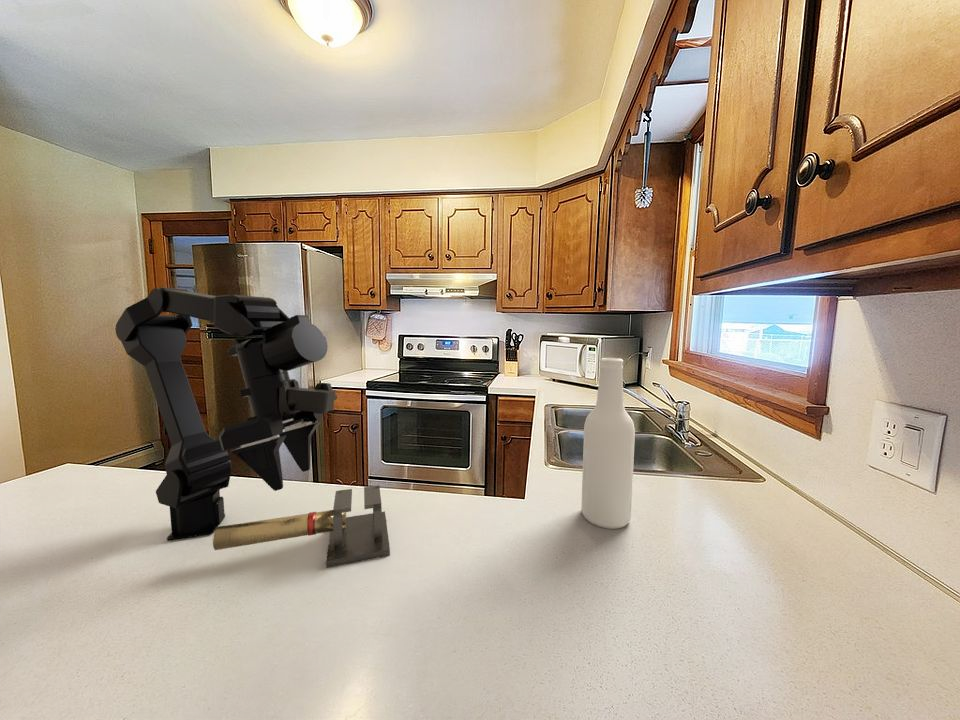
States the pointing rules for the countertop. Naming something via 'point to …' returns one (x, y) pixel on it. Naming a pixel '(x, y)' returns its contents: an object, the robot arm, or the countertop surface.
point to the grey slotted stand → (358, 530)
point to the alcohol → (608, 453)
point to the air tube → (274, 529)
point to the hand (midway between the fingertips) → (293, 479)
